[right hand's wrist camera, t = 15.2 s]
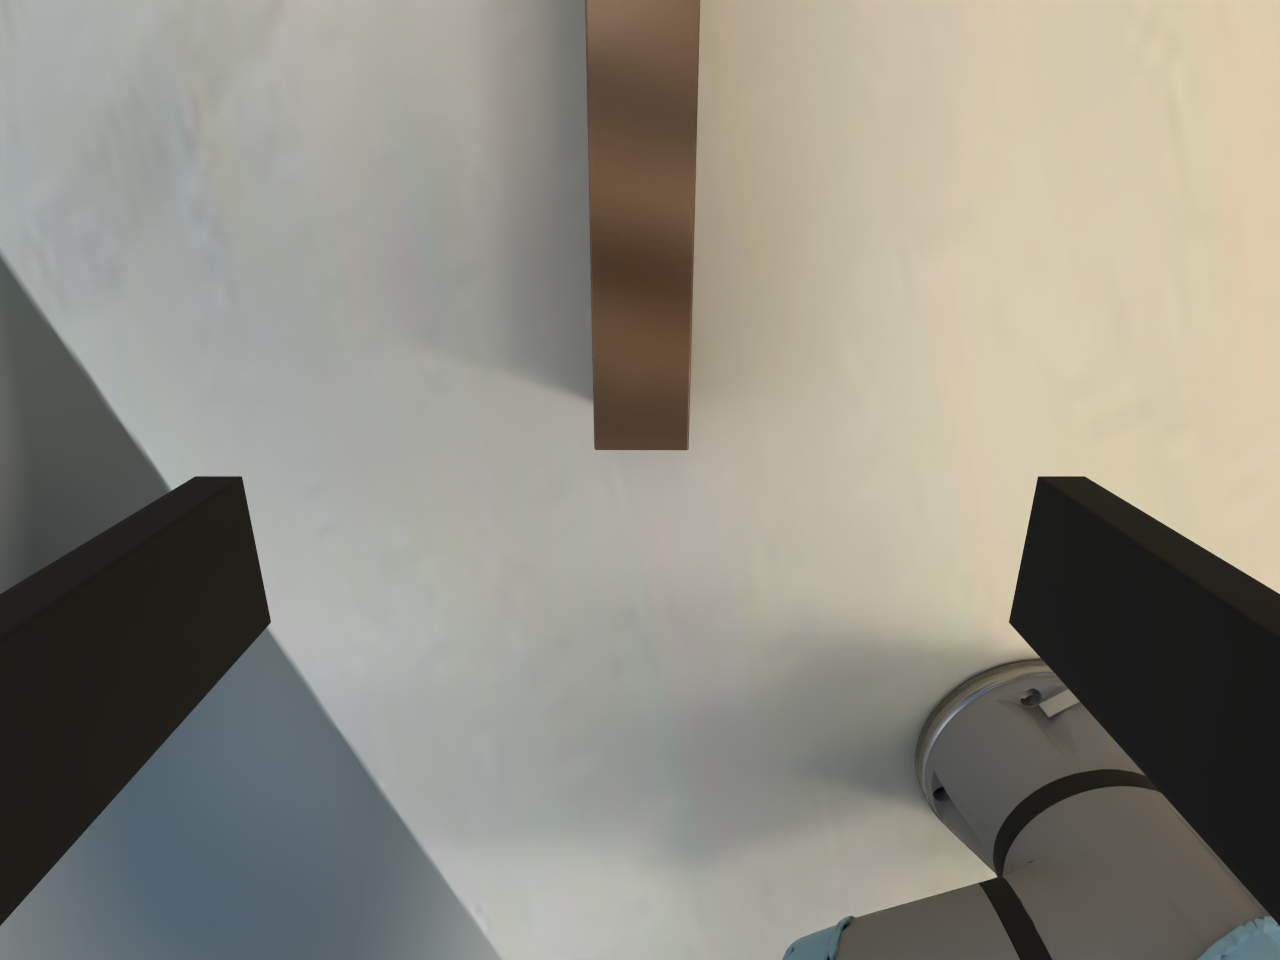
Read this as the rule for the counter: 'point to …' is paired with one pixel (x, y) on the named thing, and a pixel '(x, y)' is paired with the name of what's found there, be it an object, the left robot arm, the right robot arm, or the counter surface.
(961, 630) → the counter surface
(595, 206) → the bar
